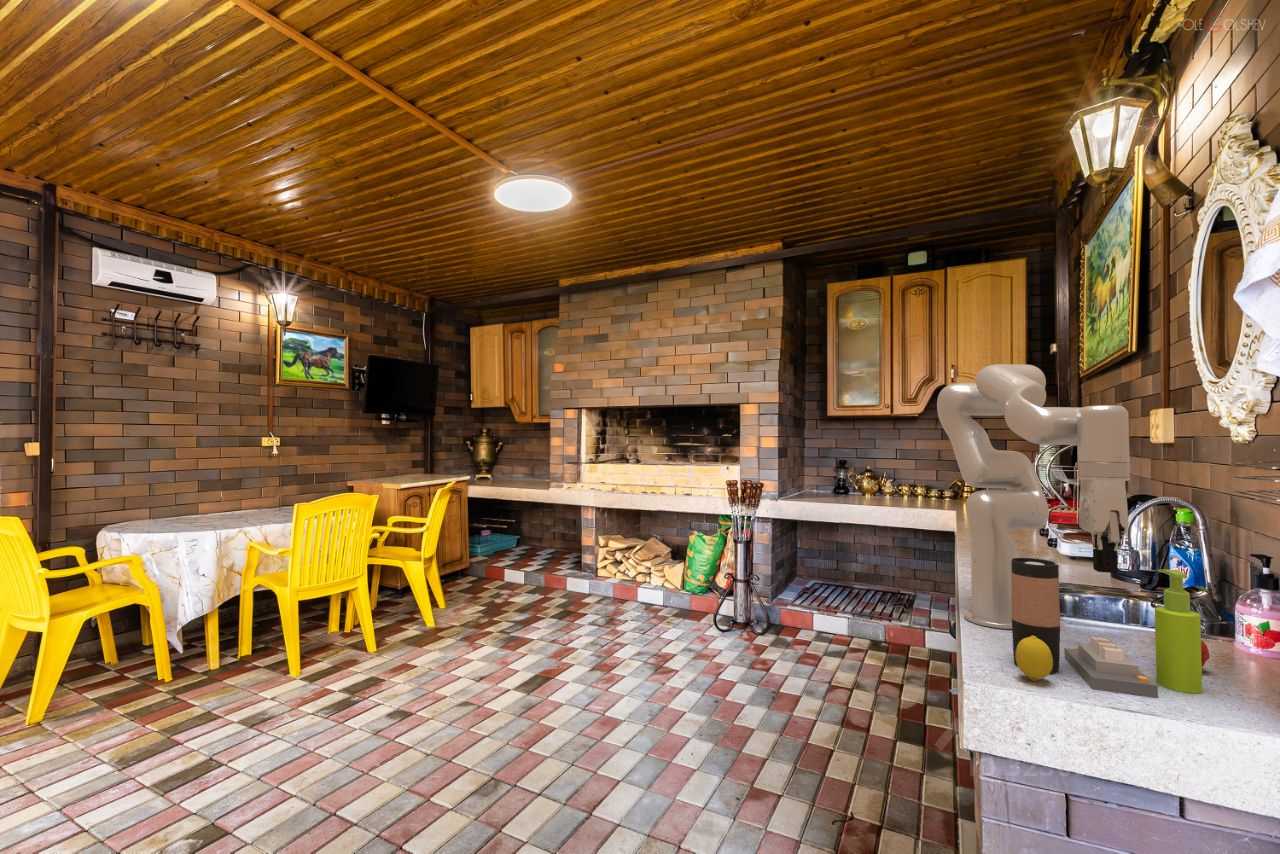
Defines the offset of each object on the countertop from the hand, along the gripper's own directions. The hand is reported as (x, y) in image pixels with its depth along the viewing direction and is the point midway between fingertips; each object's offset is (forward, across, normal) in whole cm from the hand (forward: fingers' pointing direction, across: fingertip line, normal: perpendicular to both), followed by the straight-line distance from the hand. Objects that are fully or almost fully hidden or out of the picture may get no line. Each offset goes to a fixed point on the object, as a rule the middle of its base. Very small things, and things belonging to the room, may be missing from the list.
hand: (1105, 571), depth 106 cm
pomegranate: (+19, -11, +15) cm, 27 cm away
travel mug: (+19, 0, -11) cm, 22 cm away
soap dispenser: (+19, 0, +10) cm, 22 cm away
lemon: (+19, +8, -13) cm, 25 cm away
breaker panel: (+19, 0, 0) cm, 19 cm away
